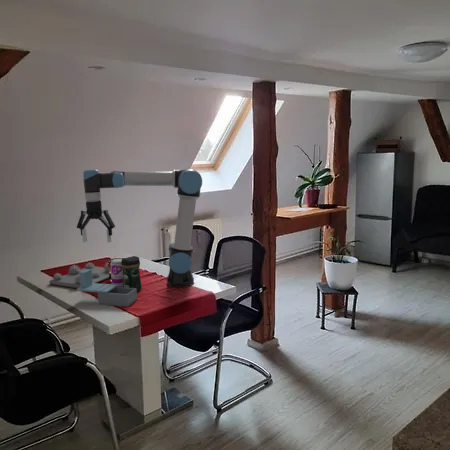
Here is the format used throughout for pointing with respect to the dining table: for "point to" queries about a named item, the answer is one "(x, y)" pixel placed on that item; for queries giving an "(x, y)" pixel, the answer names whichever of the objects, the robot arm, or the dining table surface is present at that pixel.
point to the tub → (118, 297)
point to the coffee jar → (131, 272)
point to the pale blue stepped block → (92, 287)
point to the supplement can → (116, 272)
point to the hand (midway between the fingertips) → (97, 241)
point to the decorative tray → (74, 276)
